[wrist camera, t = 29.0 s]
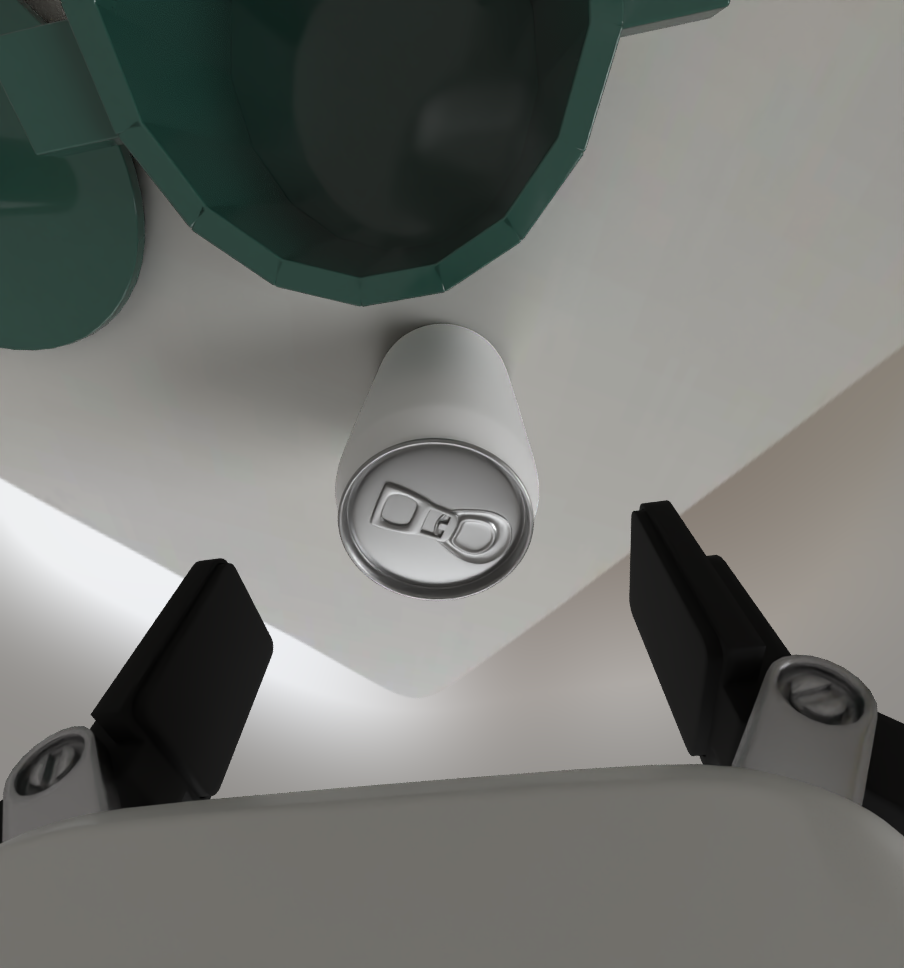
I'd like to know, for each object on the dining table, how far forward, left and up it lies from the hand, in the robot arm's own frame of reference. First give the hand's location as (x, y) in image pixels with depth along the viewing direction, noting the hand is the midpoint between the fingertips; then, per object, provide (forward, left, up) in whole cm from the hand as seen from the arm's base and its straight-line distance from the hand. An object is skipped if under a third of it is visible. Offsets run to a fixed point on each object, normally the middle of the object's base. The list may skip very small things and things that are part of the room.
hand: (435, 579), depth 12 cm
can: (0, 0, -15) cm, 15 cm away
